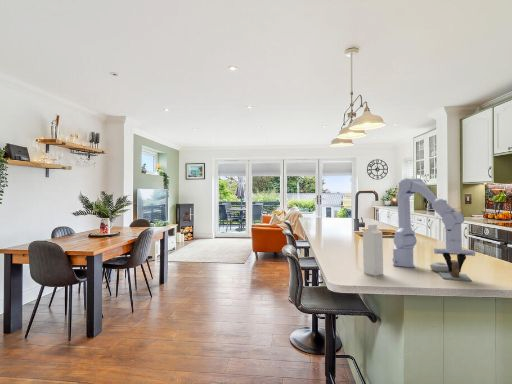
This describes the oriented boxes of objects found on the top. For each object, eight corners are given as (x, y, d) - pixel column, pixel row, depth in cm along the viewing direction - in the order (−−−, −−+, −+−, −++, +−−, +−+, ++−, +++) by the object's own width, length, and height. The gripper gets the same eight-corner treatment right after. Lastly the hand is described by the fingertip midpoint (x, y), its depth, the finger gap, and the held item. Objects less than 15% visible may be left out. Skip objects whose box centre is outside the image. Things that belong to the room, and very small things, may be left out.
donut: (460, 264, 132) (444, 267, 129) (461, 272, 132) (444, 274, 129) (440, 260, 142) (424, 262, 139) (440, 267, 142) (425, 269, 139)
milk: (383, 274, 131) (382, 225, 132) (374, 276, 128) (373, 225, 129) (372, 271, 137) (371, 224, 137) (363, 273, 134) (362, 224, 134)
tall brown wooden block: (452, 277, 123) (452, 262, 123) (449, 273, 128) (449, 260, 129) (459, 277, 122) (458, 263, 122) (456, 274, 127) (455, 260, 128)
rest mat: (442, 278, 122) (442, 277, 122) (439, 273, 132) (439, 271, 132) (471, 281, 118) (471, 280, 118) (465, 275, 127) (465, 274, 127)
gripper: (435, 240, 125) (436, 272, 124) (476, 241, 119) (477, 275, 118) (433, 238, 131) (433, 268, 131) (472, 239, 125) (473, 271, 125)
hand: (454, 271), depth 125 cm, fingers open, 3 cm apart
